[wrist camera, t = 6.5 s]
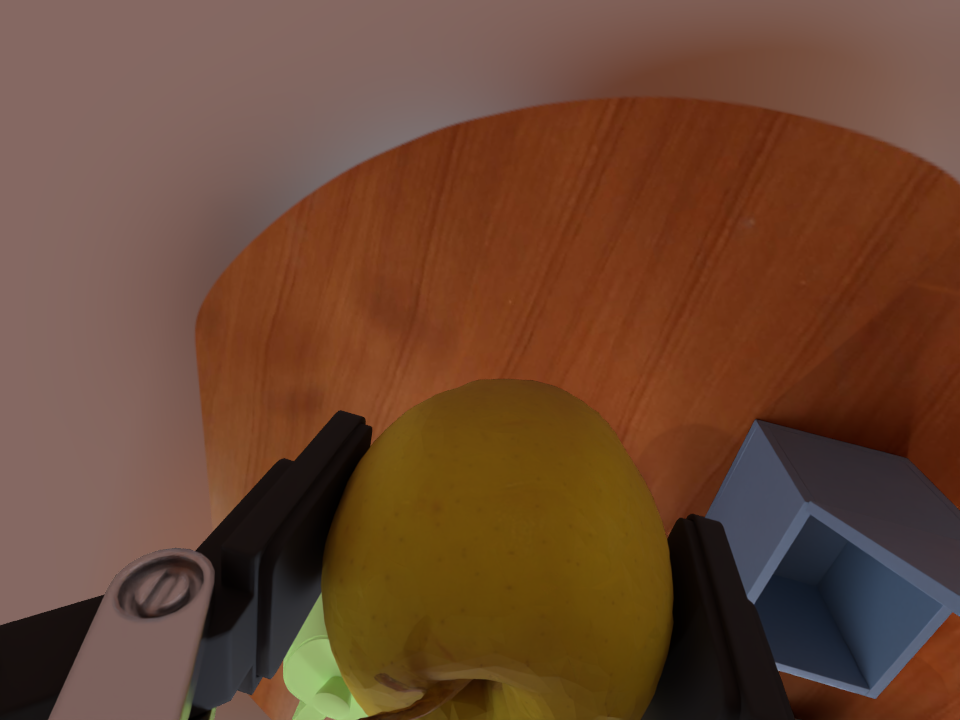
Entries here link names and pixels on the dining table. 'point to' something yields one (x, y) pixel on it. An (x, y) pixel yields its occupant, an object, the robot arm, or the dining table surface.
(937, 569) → the lid
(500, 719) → the apple
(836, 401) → the dining table surface
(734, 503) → the chest
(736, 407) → the dining table surface
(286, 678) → the teapot
